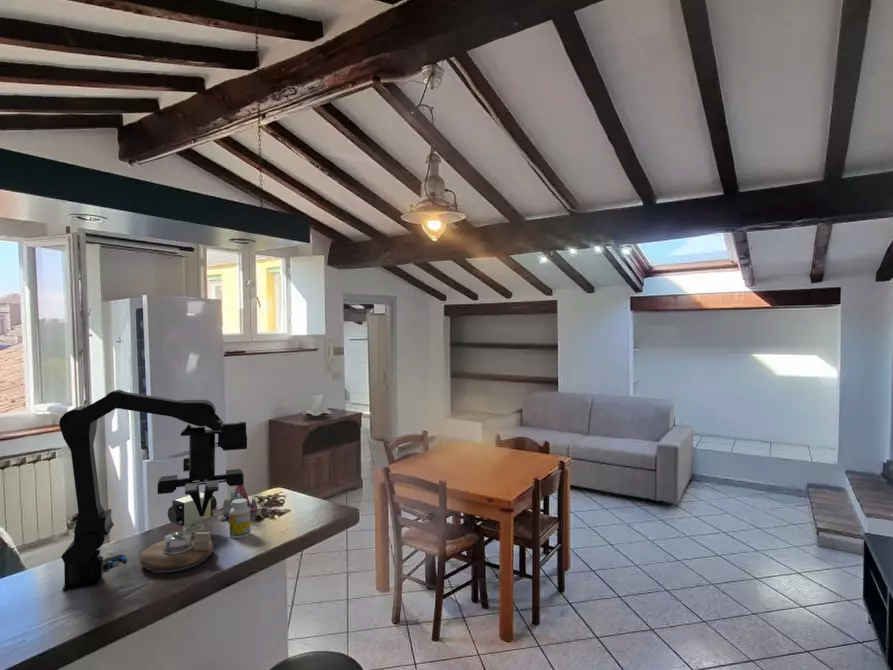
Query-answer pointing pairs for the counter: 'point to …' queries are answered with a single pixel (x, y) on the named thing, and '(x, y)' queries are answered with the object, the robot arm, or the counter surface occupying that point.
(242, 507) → the supplement bottle
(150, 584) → the counter surface
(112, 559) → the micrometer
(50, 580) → the counter surface
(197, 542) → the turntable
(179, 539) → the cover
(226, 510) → the brake caliper
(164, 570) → the turntable base
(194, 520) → the pneumatic valve
